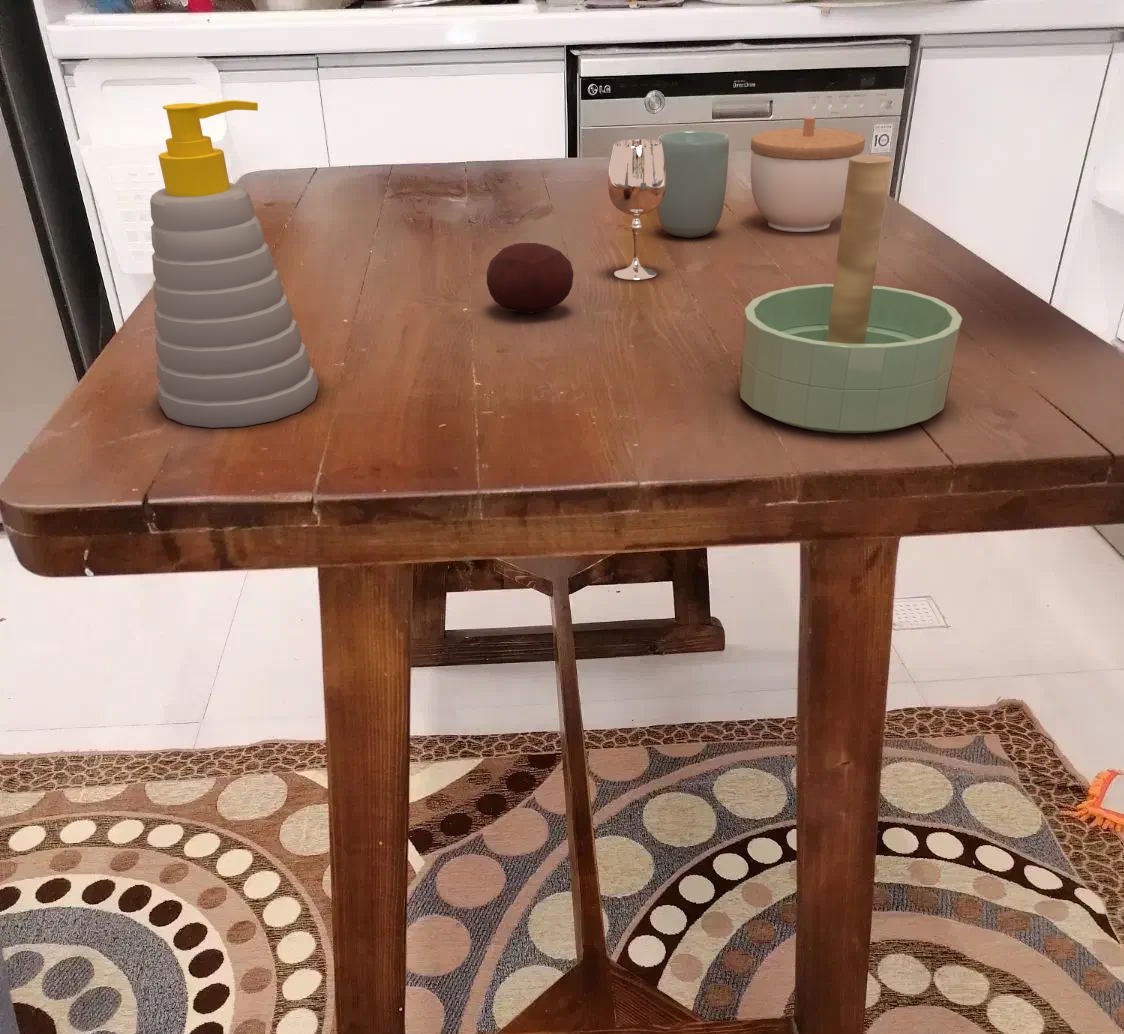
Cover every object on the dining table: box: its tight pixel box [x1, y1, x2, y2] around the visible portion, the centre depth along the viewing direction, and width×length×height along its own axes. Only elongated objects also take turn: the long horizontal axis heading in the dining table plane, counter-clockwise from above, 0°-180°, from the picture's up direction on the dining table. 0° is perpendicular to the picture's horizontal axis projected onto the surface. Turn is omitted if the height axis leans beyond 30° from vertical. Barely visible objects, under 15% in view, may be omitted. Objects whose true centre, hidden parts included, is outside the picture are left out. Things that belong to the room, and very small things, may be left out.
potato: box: [486, 242, 575, 314], centre depth 102 cm, size 7×8×6 cm
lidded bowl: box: [750, 116, 866, 233], centre depth 126 cm, size 13×13×11 cm
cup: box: [656, 129, 730, 239], centre depth 124 cm, size 8×8×10 cm
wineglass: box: [607, 138, 667, 281], centre depth 110 cm, size 6×6×12 cm
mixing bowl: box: [738, 283, 963, 434], centre depth 82 cm, size 15×15×6 cm
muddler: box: [827, 154, 893, 344], centre depth 79 cm, size 4×4×16 cm
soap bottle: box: [149, 99, 320, 429], centre depth 81 cm, size 12×12×20 cm
